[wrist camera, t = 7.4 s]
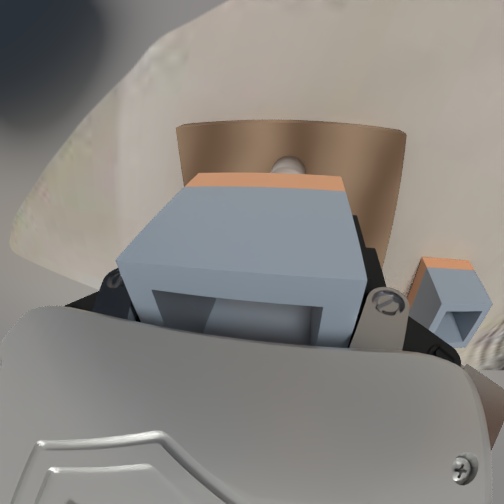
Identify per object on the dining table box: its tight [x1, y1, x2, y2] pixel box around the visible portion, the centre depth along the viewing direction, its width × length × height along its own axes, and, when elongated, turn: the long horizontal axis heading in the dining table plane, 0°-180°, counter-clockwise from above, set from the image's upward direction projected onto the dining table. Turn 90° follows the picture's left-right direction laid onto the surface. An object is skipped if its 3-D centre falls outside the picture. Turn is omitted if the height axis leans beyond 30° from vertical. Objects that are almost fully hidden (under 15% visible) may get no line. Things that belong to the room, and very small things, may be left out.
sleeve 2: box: [407, 257, 492, 348], centre depth 21 cm, size 6×6×6 cm
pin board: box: [176, 120, 406, 269], centre depth 20 cm, size 16×17×6 cm
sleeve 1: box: [116, 173, 367, 348], centre depth 10 cm, size 6×6×6 cm
